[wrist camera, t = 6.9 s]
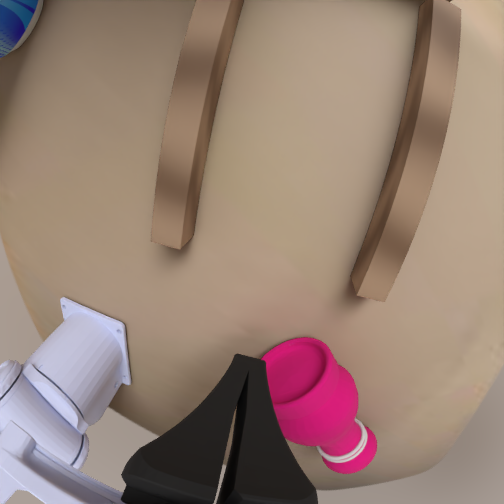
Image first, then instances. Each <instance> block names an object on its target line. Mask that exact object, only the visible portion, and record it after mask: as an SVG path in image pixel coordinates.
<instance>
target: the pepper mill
mask: <svg viewBox="0 0 504 504" xmlns="http://www.w3.org/2000/svg"><path fill="white" fill-rule="evenodd" d="M261 360H265V362H266V370H267V379H268V385H269V390H270V395H271V399H272V403H273V407H274V410H275V413H276V417H277V420H278V422H279V425H280V428H281V430H282V433H283V435H284V437H285V438H286V439H287V440H289V441H291V442H293V443H297V444H301V445H305V446H317V449H318V451H319V453H320V454H321V455H322V458H323V461H324V463H325V464H326V465H327V467H328V468H330V469H331V470H333V471H335V472H338V473H342V474H350V473H355V472H358V471H360V470H362V469H363V468H365V467H366V466H367V465H368V464H369V463H370V462H371V461H372V460H373V458H374V456H375V454H376V451H377V440H376V437H375V435H374V434H373V432H372V431H371V430H370V429H369V428H368V427H366V426H364V425H363V424H362V423H361V422H360V421H359V420H358V419H356V418H355V416H356V414H357V410H358V392H357V388H356V385H355V382H354V380H353V378H352V376H351V375H350V373H349V372H348V371H347V370H346V369H345V368H344V367H342V366H340V365H338V364H337V362H336V360H335V358H334V356H333V355H332V353H331V351H330V349H329V347H328V346H327V345H326V344H325V343H323V342H322V341H320V340H317V339H314V338H308V337H303V338H295V339H292V340H289V341H286V342H284V343H282V344H280V345H278V346H276V347H274V348H273V349H271V350H270V351H269V352H268V353H266V354H265V355H264V356H263V357H262V358H261Z"/></svg>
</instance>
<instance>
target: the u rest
mask: <svg viewBox="0 0 504 504" xmlns="http://www.w3.org/2000/svg"><path fill="white" fill-rule="evenodd" d="M450 1H452V0H426V1H425V2H424V3H423V4H422V5H420V6H419V17H418V27H417V35H416V43H415V50H414V57H413V63H412V69H411V75H410V80H409V86H408V91H407V96H406V100H405V105H404V110H403V114H402V118H401V122H400V127H399V131H398V135H397V139H396V142H395V146H394V150H393V154H392V157H391V161H390V164H389V168H388V171H387V174H386V178H385V181H384V184H383V188H382V191H381V194H380V197H379V200H378V203H377V206H376V209H375V212H374V215H373V218H372V221H371V224H370V226H369V229H368V232H367V235H366V237H365V240H364V243H363V245H362V248H361V251H360V253H359V256H358V258H357V261H356V264H355V266H354V269H353V271H352V273H351V279H352V282H353V285H354V288H355V291H356V295H357V296H361V297H365V298H369V299H374V300H378V301H382V302H385V300H386V298H387V296H388V294H389V292H390V290H391V288H392V286H393V284H394V281H395V279H396V277H397V275H398V273H399V271H400V268H401V266H402V264H403V262H404V259H405V257H406V255H407V252H408V250H409V247H410V245H411V242H412V240H413V237H414V235H415V232H416V230H417V227H418V224H419V222H420V219H421V216H422V214H423V211H424V208H425V205H426V202H427V199H428V196H429V193H430V190H431V187H432V184H433V181H434V177H435V174H436V170H437V167H438V163H439V160H440V156H441V152H442V148H443V144H444V140H445V136H446V132H447V127H448V123H449V118H450V113H451V108H452V102H453V97H454V90H455V84H456V77H457V69H458V59H459V48H460V33H461V9H460V8H458V7H457V6H455V5H453V4H452V3H450ZM243 2H244V0H196V3H195V6H194V9H193V12H192V15H191V18H190V22H189V25H188V28H187V32H186V35H185V39H184V42H183V46H182V50H181V54H180V57H179V61H178V65H177V70H176V74H175V78H174V83H173V87H172V92H171V96H170V101H169V106H168V111H167V117H166V122H165V128H164V134H163V140H162V146H161V152H160V159H159V166H158V174H157V182H156V190H155V200H154V210H153V221H152V233H151V242H154V243H158V244H161V245H165V246H169V247H172V248H176V249H181V248H182V247H183V246H184V245H185V244H186V243H187V242H188V241H189V240H190V238H191V237H192V236H193V235H194V228H195V222H196V215H197V209H198V202H199V196H200V190H201V184H202V178H203V173H204V167H205V162H206V156H207V151H208V146H209V141H210V136H211V131H212V126H213V121H214V116H215V112H216V107H217V102H218V98H219V94H220V89H221V85H222V81H223V76H224V72H225V68H226V64H227V60H228V56H229V52H230V49H231V45H232V41H233V37H234V34H235V30H236V26H237V23H238V19H239V16H240V12H241V9H242V6H243Z"/></svg>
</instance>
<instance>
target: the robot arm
mask: <svg viewBox="0 0 504 504" xmlns="http://www.w3.org/2000/svg"><path fill="white" fill-rule="evenodd" d="M60 302H61V307H62V312H63V317H64V322H63V323H62V324H61V325H60V326H59V327H58V328H57V329H56V330H55V331H54V332H53V333H52V334H51V335H50V336H49V337H48V338H47V339H46V340H45V341H44V342H43V343H42V344H41V345H40V346H39V347H38V349H37V350H36V351H35V352H34V353H33V354H32V355H31V356H30V357H29V358H28V359H27V360H26V362H25V363H24V364H22V365H20V364H19V362H18V361H16V360H15V361H12V360H7V361H5V362H3V363H2V364H1V365H0V504H5V503H6V502H7V501H8V499H9V498H10V497H11V496H12V495H13V493H14V492H15V491H16V490H25V491H29V492H31V493H32V494H33V495H34V496H36V497H37V498H38V499H40V500H41V501H42V502H44V503H45V504H213V503H214V500H215V496H216V493H217V489H218V484H219V479H220V474H221V469H222V465H223V460H224V455H225V451H226V446H227V442H228V437H229V433H230V428H231V424H232V419H233V415H234V411H235V409H236V406H237V410H236V417H235V425H234V432H233V439H232V445H231V451H230V455H229V458H228V462H227V466H226V470H225V474H224V478H223V482H222V485H221V488H220V492H219V496H218V499H217V503H216V504H318V498H317V493H316V488H315V487H314V486H313V484H312V483H311V482H310V481H309V479H308V478H307V476H306V475H305V473H304V472H303V470H302V469H301V467H300V466H299V464H298V463H297V461H296V459H295V457H294V455H293V454H292V452H291V450H290V448H289V446H288V444H287V442H286V440H285V437H284V435H283V433H282V430H281V428H280V425H279V422H278V420H277V417H276V413H275V410H274V407H273V403H272V399H271V395H270V390H269V385H268V379H267V370H266V362H265V360H261V359H257V358H253V357H249V356H245V355H241V354H236V355H235V356H234V358H233V361H232V363H231V365H230V366H229V368H228V370H227V371H226V373H225V375H224V376H223V377H222V379H221V380H220V381H219V383H218V384H217V386H216V387H215V388H214V389H213V390H212V392H211V393H210V394H209V395H208V396H207V397H206V398H205V400H204V401H203V402H202V403H201V404H200V405H199V406H198V407H197V408H196V409H195V410H194V411H193V412H191V413H190V414H189V415H188V416H187V417H186V418H185V419H183V420H182V421H181V422H180V423H178V424H177V425H176V426H175V427H173V428H172V429H170V430H169V431H167V432H166V433H165V434H163V435H162V436H160V437H158V438H157V439H155V440H153V441H152V442H150V443H148V444H147V445H145V446H143V447H141V448H140V449H139V450H138V451H137V452H136V453H135V454H134V455H133V456H132V457H131V458H130V459H129V461H128V462H127V464H126V466H125V468H124V470H123V472H122V474H121V475H122V478H123V480H124V481H125V483H126V488H125V490H124V492H120V491H118V490H116V489H114V488H112V487H109V486H107V485H105V484H103V483H101V482H99V481H97V480H96V479H94V478H92V477H90V476H88V475H86V474H84V473H83V472H81V471H79V470H80V469H81V468H82V466H83V465H84V463H85V461H86V459H87V456H88V452H89V440H88V437H87V435H86V434H85V431H86V429H87V428H88V426H90V425H93V424H94V423H96V422H97V421H98V420H99V419H100V418H101V417H102V415H103V413H104V412H105V410H106V408H107V407H108V405H109V404H110V402H111V400H112V399H113V397H114V395H115V394H116V392H117V390H118V389H119V387H120V385H121V384H122V383H124V384H126V385H130V384H131V375H130V368H129V360H128V351H127V342H126V331H125V325H124V324H123V323H122V322H120V321H118V320H115V319H113V318H110V317H108V316H106V315H103V314H101V313H98V312H96V311H94V310H91V309H89V308H87V307H85V306H82V305H80V304H78V303H76V302H74V301H71V300H69V299H67V298H65V297H62V298H61V299H60Z"/></svg>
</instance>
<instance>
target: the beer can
mask: <svg viewBox="0 0 504 504" xmlns="http://www.w3.org/2000/svg"><path fill="white" fill-rule="evenodd" d="M42 7H43V0H0V58H1V57H4V56H6V55H7V54H9V53H10V52H11V51H14V50H16V49H17V48H18V47H20V46H21V45H22V44H23V42H24V41H25V40H26V39H27V38H28V36H29V35H30V33H31V32H32V30H33V28H34V27H35V25H36V23H37V21H38V18H39V16H40V13H41V10H42Z"/></svg>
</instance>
